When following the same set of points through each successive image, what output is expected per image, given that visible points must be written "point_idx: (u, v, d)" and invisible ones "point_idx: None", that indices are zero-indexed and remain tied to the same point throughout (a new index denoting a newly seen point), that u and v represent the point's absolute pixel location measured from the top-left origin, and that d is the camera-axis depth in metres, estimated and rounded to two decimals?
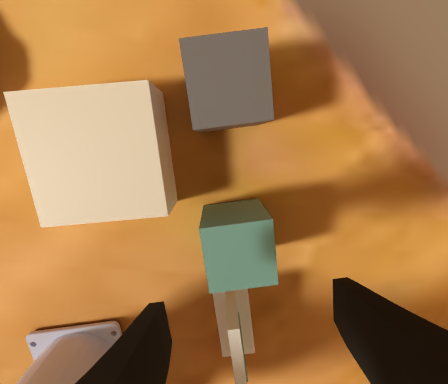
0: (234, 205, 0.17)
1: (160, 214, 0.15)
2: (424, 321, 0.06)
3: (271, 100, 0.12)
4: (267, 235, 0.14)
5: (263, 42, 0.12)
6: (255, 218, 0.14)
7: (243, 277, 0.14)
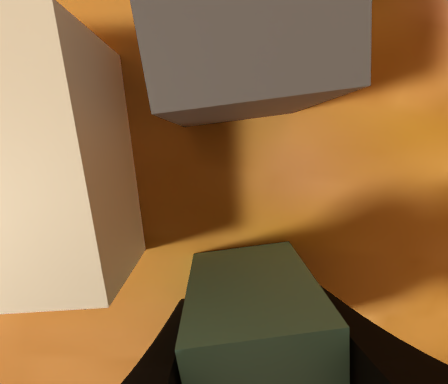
0: (248, 260, 0.09)
1: (92, 303, 0.07)
2: (376, 327, 0.06)
3: (367, 30, 0.04)
4: (334, 360, 0.06)
5: None
6: (303, 318, 0.06)
7: None
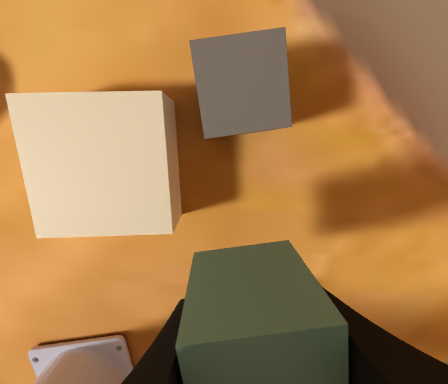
0: (248, 259, 0.10)
1: (164, 231, 0.14)
2: (376, 327, 0.06)
3: (289, 106, 0.11)
4: (332, 357, 0.06)
5: (280, 43, 0.11)
6: (302, 315, 0.06)
7: None
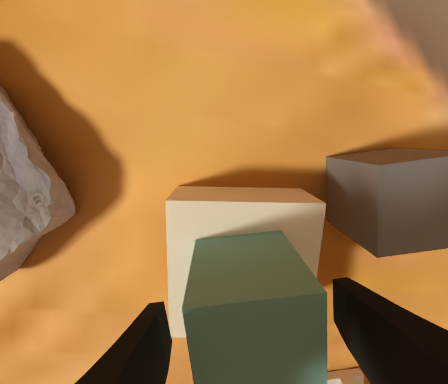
0: (245, 244, 0.11)
1: None
2: (424, 321, 0.06)
3: None
4: (314, 321, 0.07)
5: None
6: (289, 286, 0.07)
7: None
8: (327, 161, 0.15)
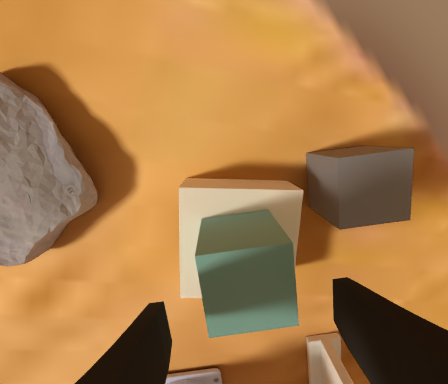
0: (239, 219, 0.14)
1: None
2: (424, 321, 0.06)
3: (409, 205, 0.14)
4: (285, 263, 0.11)
5: (409, 159, 0.13)
6: (268, 241, 0.11)
7: (253, 317, 0.11)
8: (306, 156, 0.18)
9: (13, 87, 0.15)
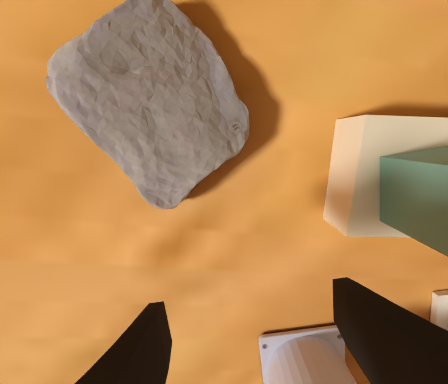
0: (434, 152, 0.14)
1: None
2: (424, 321, 0.06)
3: None
4: None
5: None
6: None
7: None
8: None
9: (187, 17, 0.14)
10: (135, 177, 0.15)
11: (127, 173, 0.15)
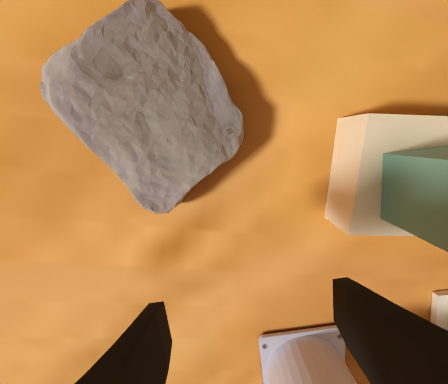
0: (437, 150, 0.14)
1: None
2: (424, 321, 0.06)
3: None
4: None
5: None
6: None
7: None
8: None
9: (181, 22, 0.14)
10: (129, 182, 0.15)
11: (121, 178, 0.15)
